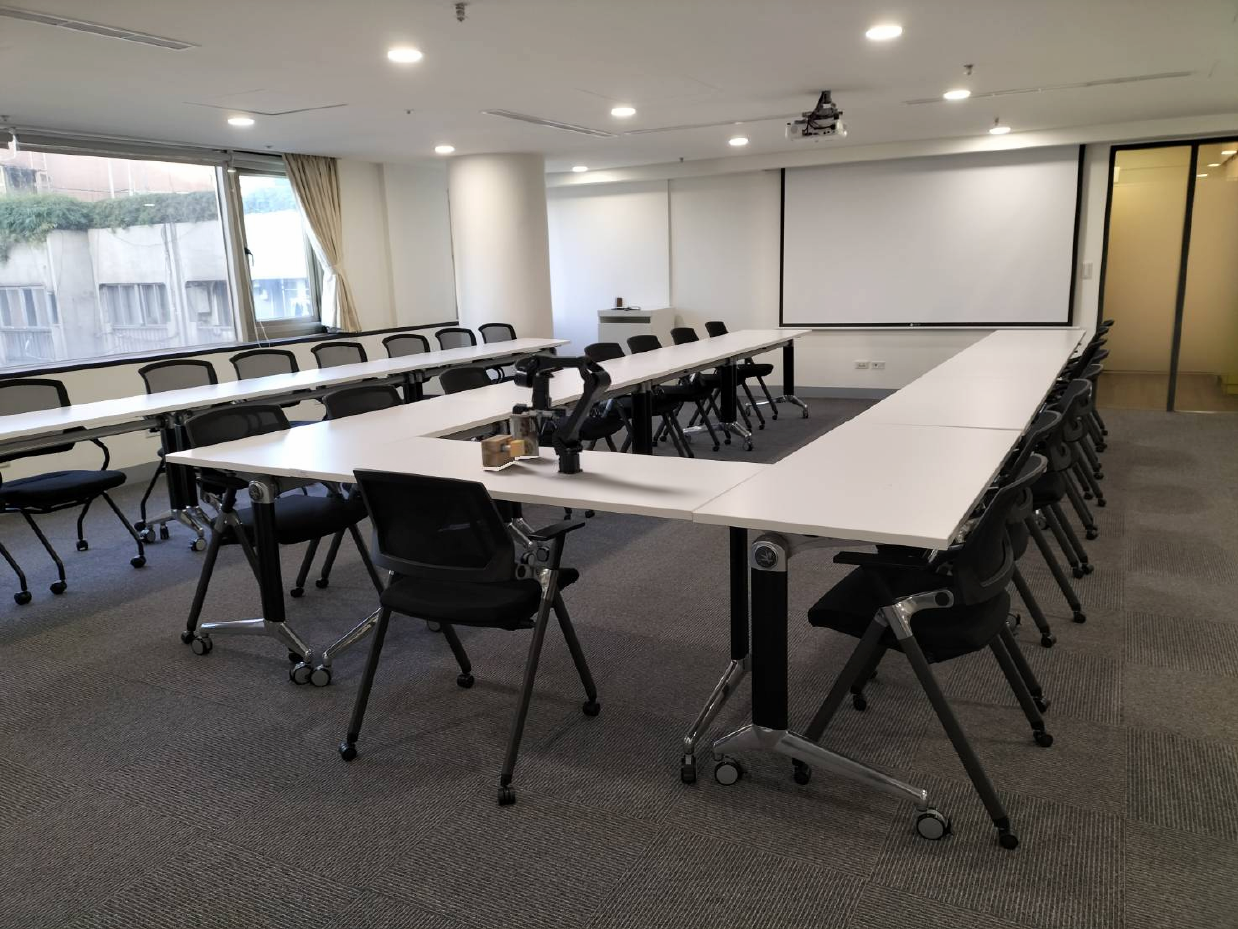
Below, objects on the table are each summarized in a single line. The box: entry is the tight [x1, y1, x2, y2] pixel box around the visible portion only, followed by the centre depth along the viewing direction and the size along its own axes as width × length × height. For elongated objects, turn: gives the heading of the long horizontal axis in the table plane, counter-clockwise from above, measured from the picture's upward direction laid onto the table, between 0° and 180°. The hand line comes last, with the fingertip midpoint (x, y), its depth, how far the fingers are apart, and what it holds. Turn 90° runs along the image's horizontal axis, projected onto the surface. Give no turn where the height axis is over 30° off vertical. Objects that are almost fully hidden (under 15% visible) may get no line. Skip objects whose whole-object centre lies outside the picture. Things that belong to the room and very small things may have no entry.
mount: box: [480, 434, 516, 467], centre depth 309 cm, size 7×13×10 cm, turn 160°
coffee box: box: [509, 413, 540, 457], centre depth 324 cm, size 9×6×16 cm
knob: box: [501, 440, 525, 457], centre depth 304 cm, size 7×5×5 cm
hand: (540, 434), depth 303 cm, fingers closed
